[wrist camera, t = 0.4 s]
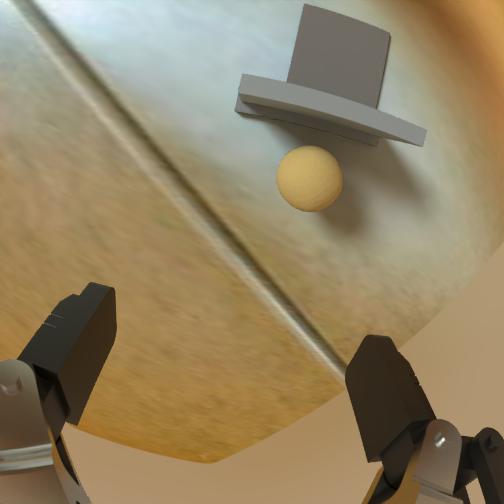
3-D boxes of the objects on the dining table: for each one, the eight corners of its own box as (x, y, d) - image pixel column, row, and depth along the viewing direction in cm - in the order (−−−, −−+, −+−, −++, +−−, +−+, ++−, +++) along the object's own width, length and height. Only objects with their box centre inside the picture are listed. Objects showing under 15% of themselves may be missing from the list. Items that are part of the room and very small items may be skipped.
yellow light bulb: (334, 172, 35) (363, 192, 26) (292, 203, 36) (307, 233, 27) (303, 129, 32) (324, 134, 23) (260, 162, 34) (264, 178, 25)
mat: (303, 4, 26) (304, 3, 25) (388, 33, 27) (390, 33, 26) (286, 83, 30) (286, 83, 30) (374, 109, 31) (375, 109, 31)
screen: (242, 78, 30) (238, 58, 19) (380, 115, 31) (433, 119, 21) (235, 111, 31) (228, 106, 21) (373, 145, 33) (423, 161, 22)
